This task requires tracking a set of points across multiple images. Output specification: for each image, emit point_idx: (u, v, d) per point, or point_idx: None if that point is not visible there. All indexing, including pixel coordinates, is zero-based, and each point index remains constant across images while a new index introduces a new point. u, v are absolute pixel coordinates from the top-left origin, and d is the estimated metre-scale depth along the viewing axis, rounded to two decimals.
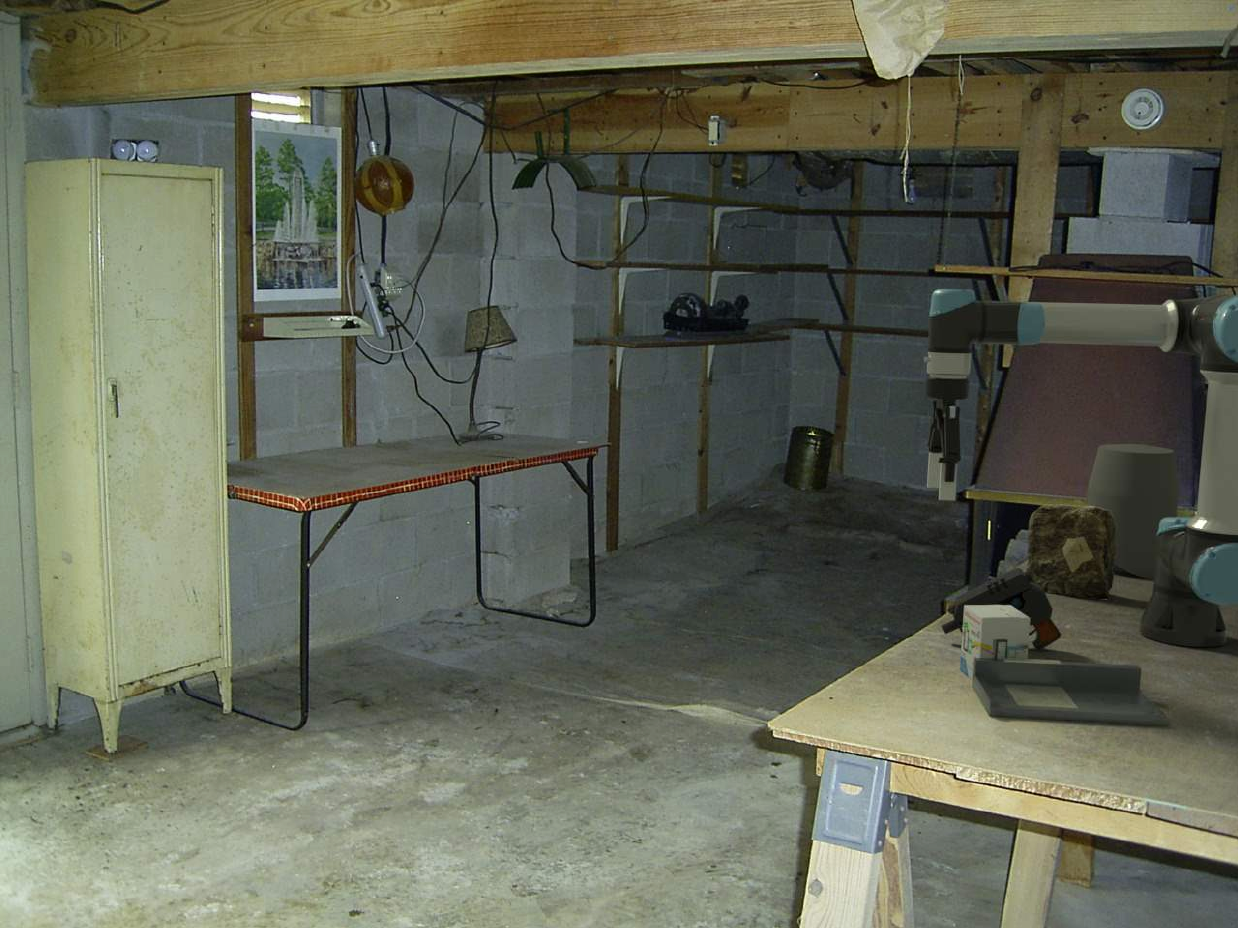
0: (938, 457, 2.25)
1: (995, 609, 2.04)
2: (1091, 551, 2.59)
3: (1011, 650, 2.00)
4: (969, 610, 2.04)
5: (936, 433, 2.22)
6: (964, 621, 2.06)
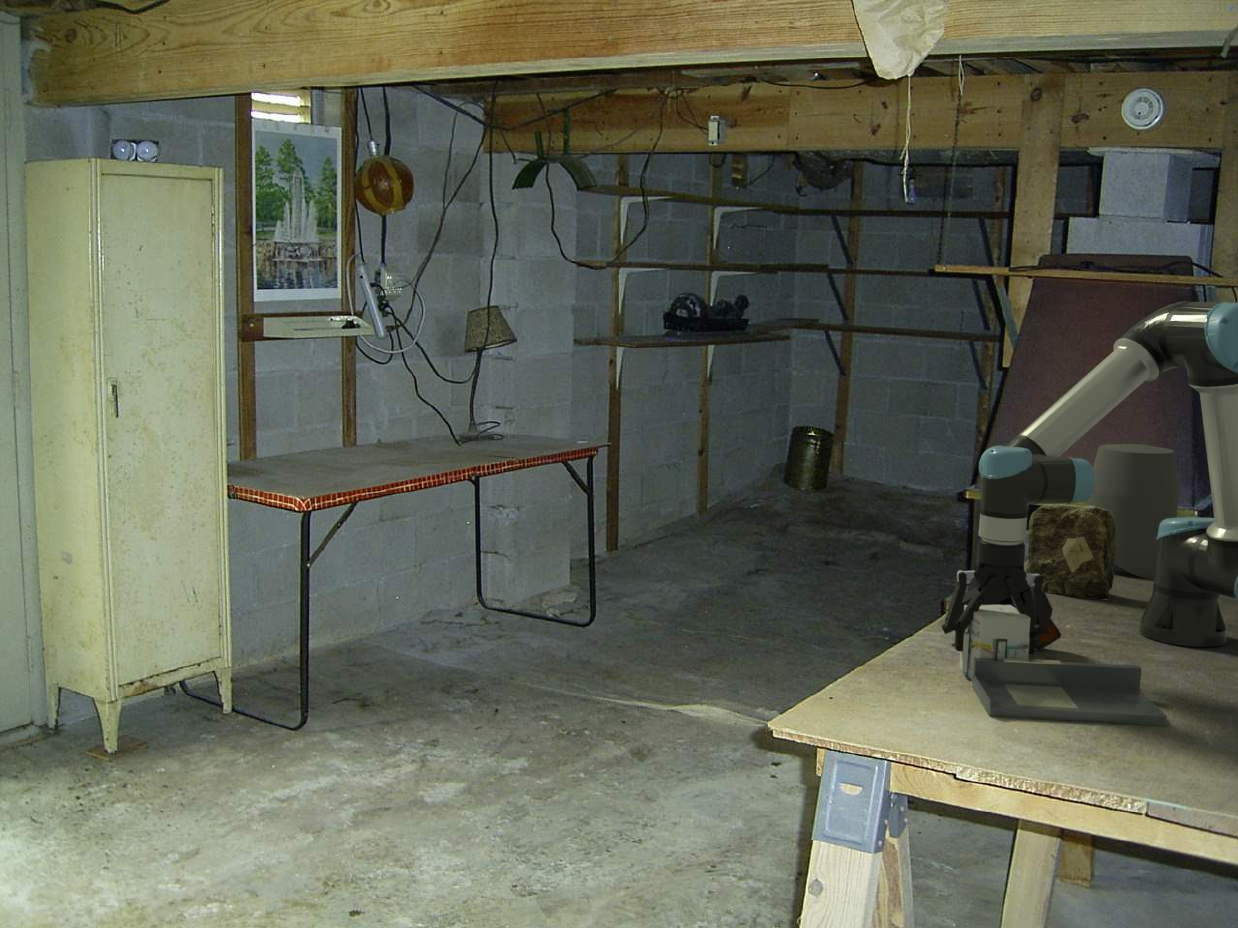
0: None
1: (995, 609, 2.04)
2: (1091, 551, 2.59)
3: (1011, 650, 2.00)
4: None
5: (1015, 606, 2.03)
6: None
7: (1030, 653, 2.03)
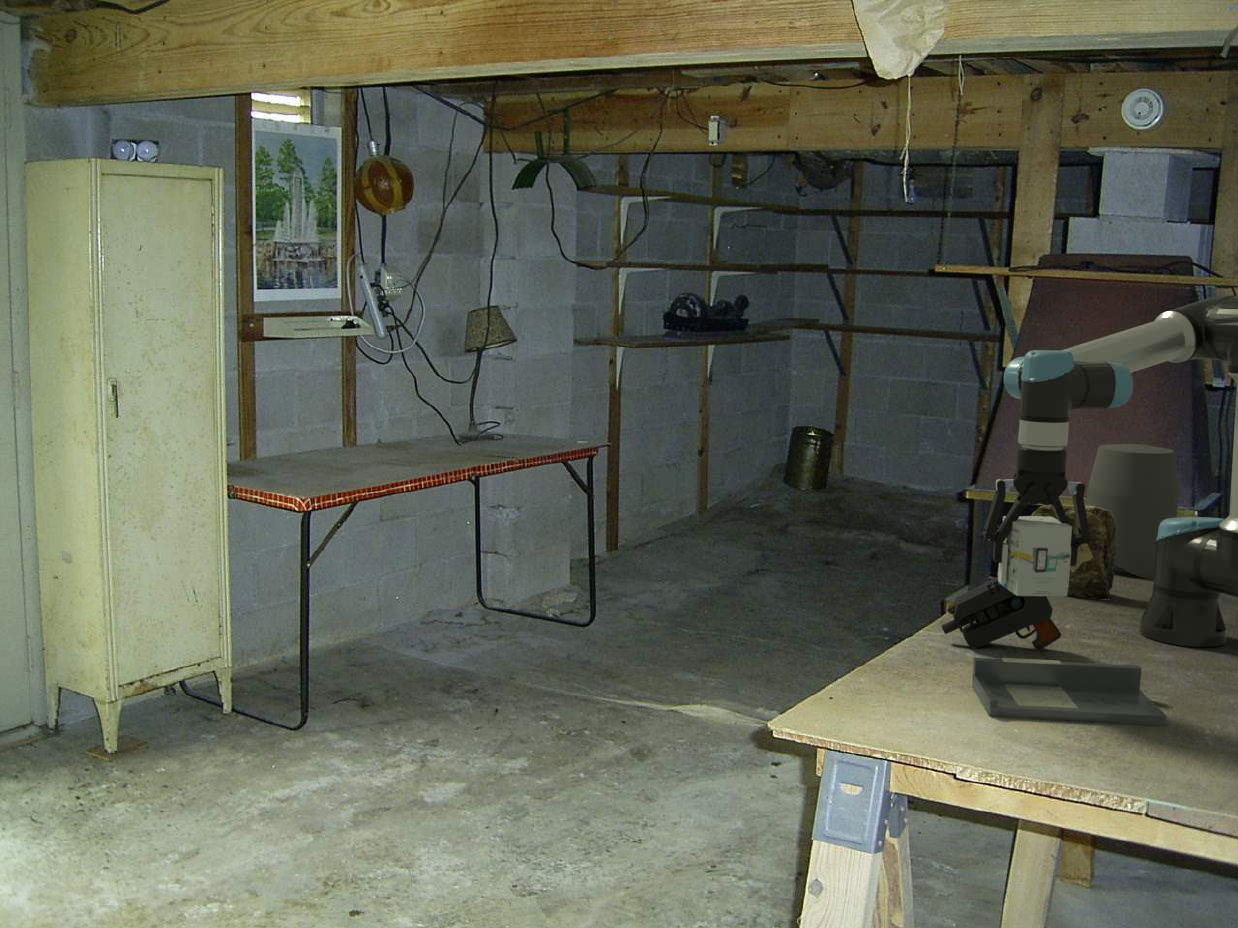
0: None
1: (1035, 519, 1.97)
2: (1091, 551, 2.59)
3: (1051, 559, 1.93)
4: None
5: (1056, 516, 1.97)
6: None
7: (1072, 564, 1.96)
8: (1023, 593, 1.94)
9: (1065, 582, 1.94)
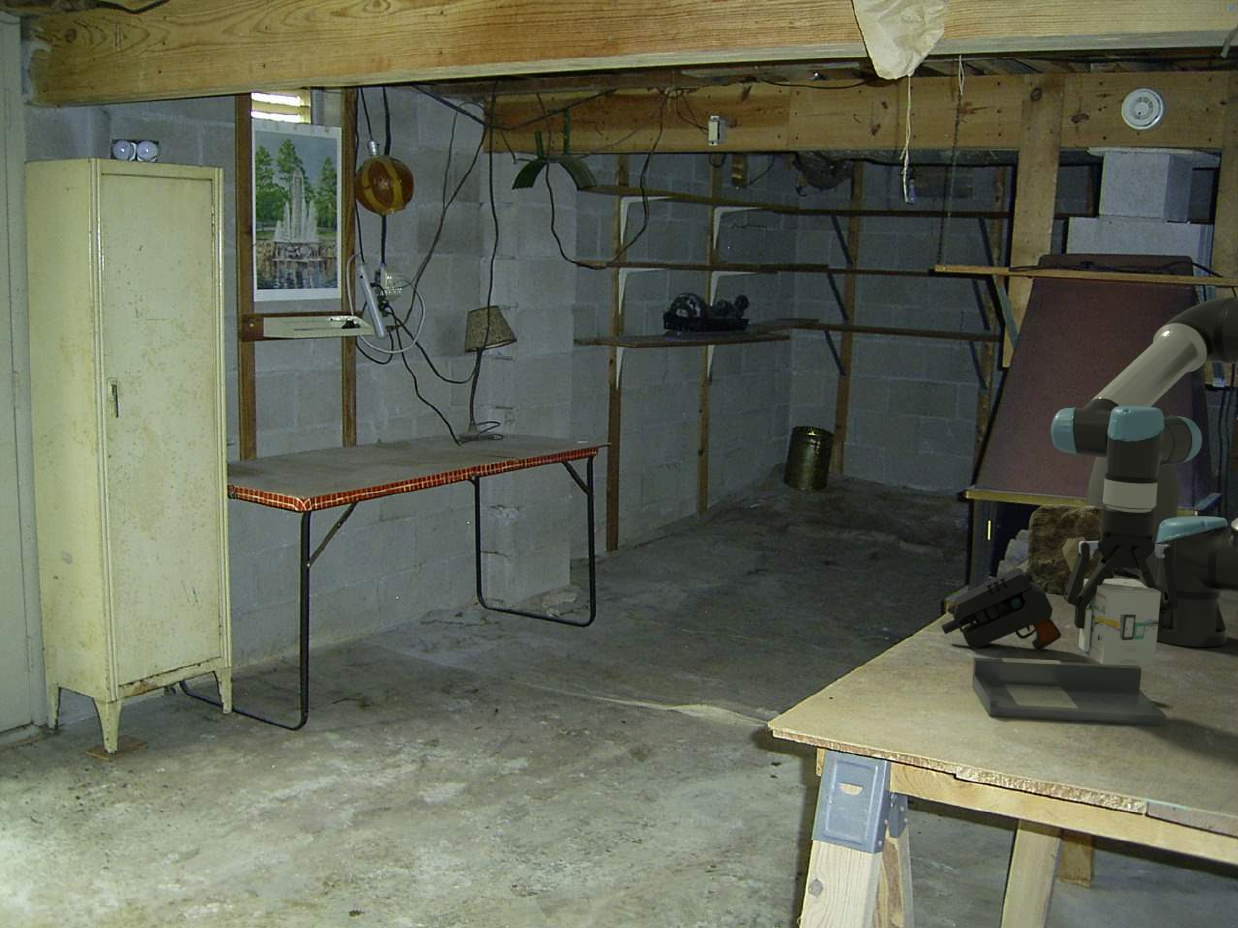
0: None
1: (1119, 583, 1.88)
2: None
3: (1139, 626, 1.84)
4: None
5: (1142, 580, 1.87)
6: None
7: (1158, 631, 1.87)
8: (1109, 662, 1.84)
9: (1153, 650, 1.84)
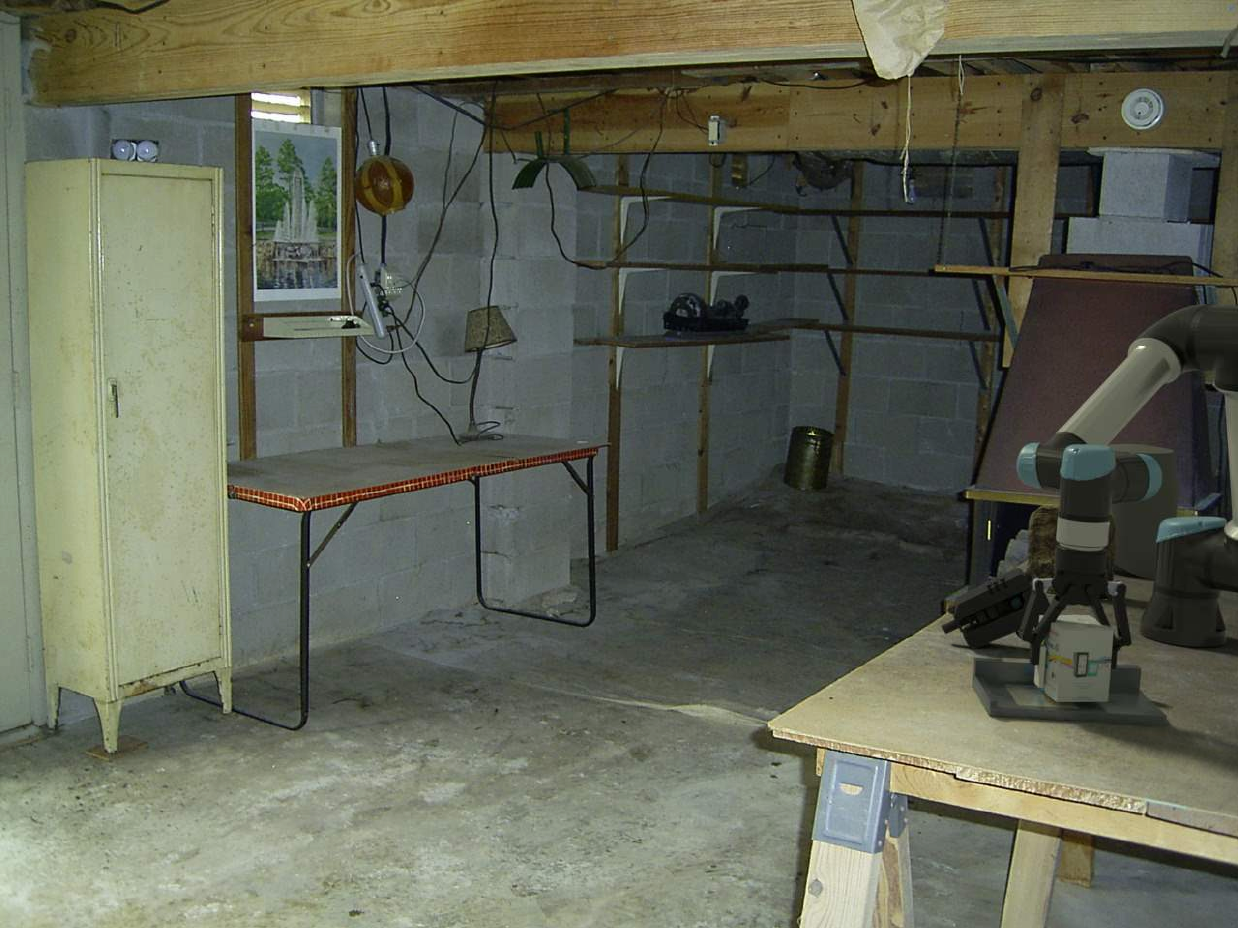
0: None
1: (1074, 619, 1.89)
2: None
3: (1092, 664, 1.85)
4: None
5: (1095, 617, 1.89)
6: None
7: (1111, 667, 1.88)
8: (1063, 699, 1.86)
9: (1106, 687, 1.86)
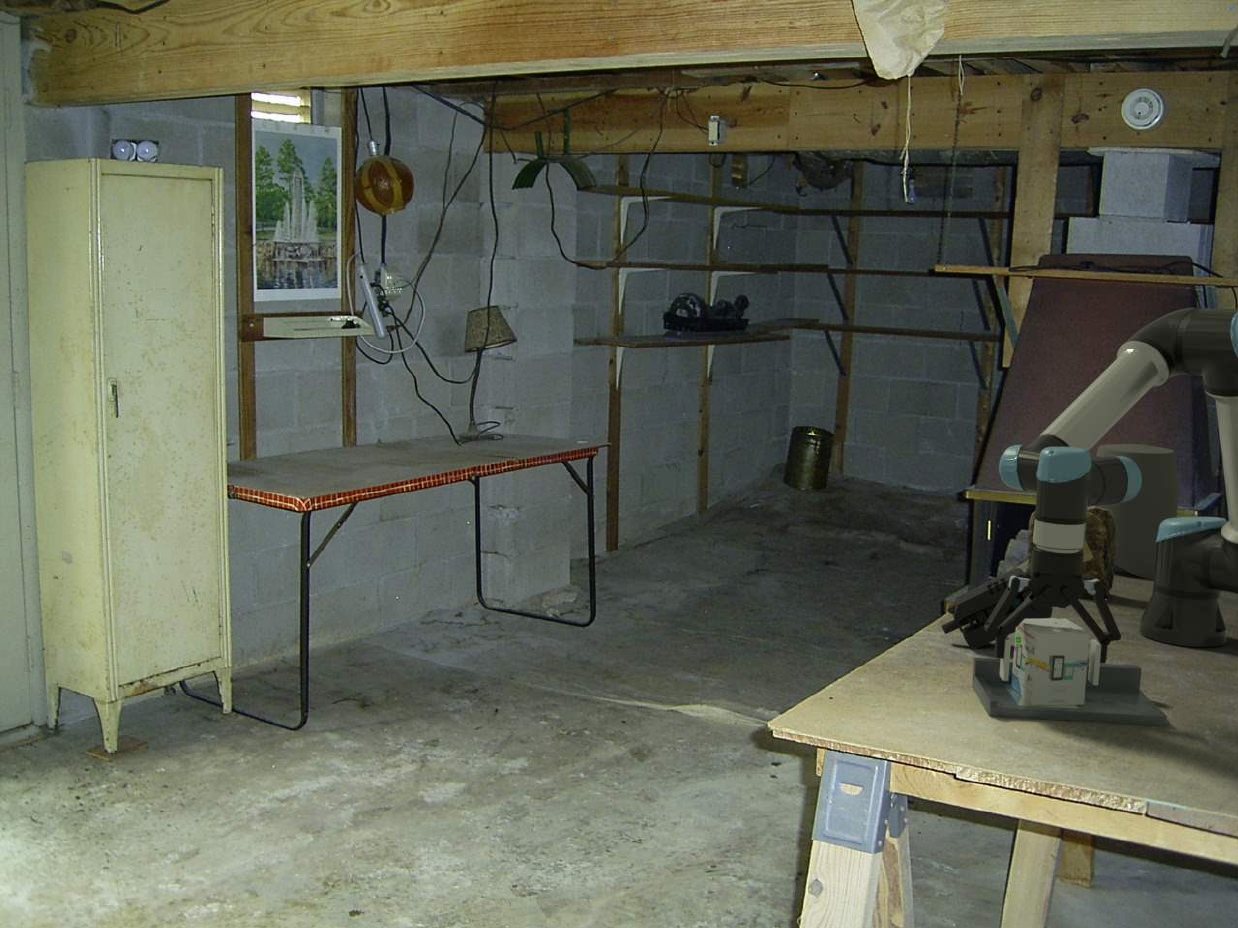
0: (1093, 647, 1.89)
1: (1050, 623, 1.90)
2: (1091, 551, 2.59)
3: (1068, 667, 1.86)
4: (1022, 624, 1.90)
5: None
6: (1016, 635, 1.92)
7: (1101, 661, 1.88)
8: (1039, 702, 1.86)
9: (1082, 690, 1.86)
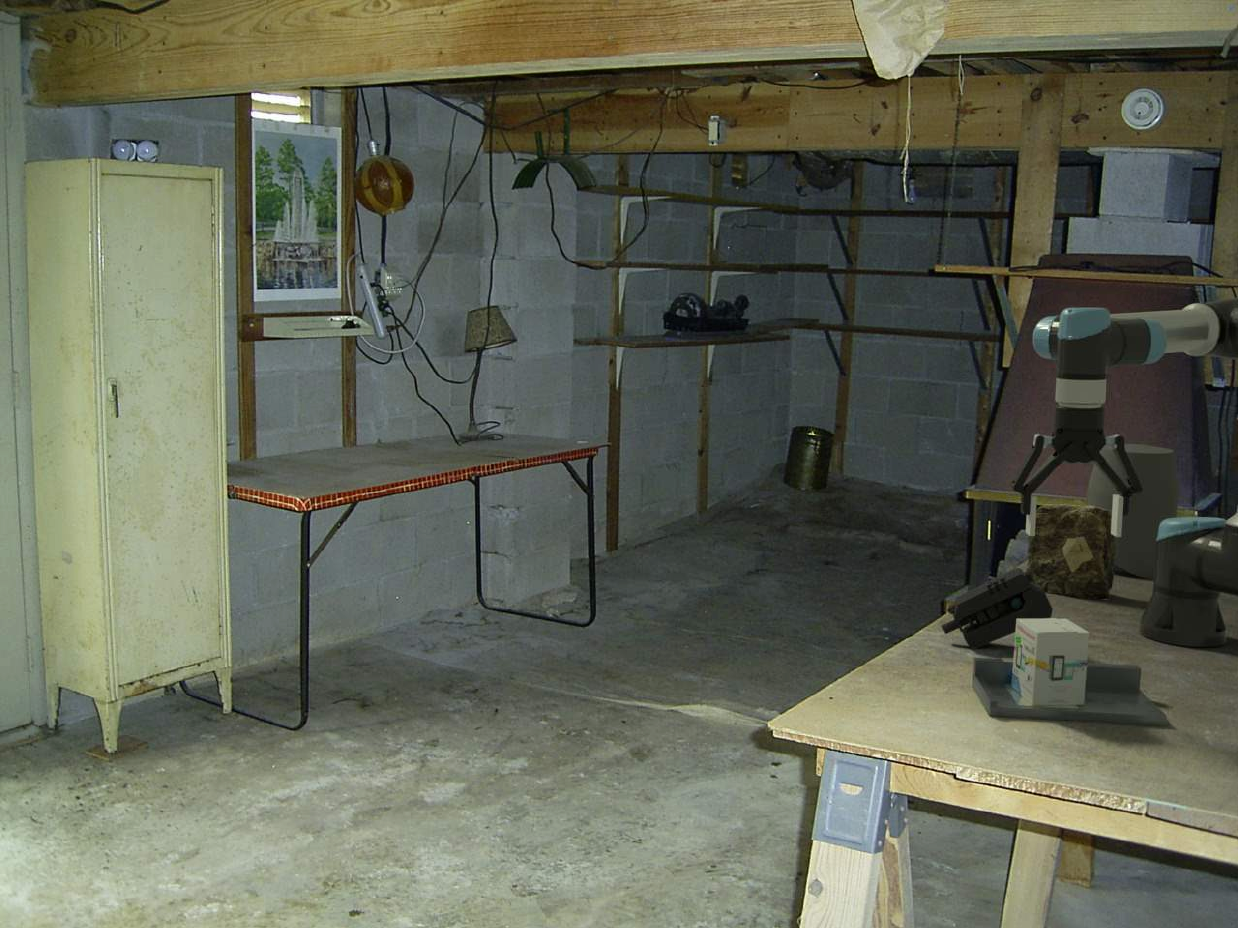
0: (1116, 500, 1.96)
1: (1050, 623, 1.90)
2: (1091, 551, 2.59)
3: (1068, 667, 1.86)
4: (1022, 624, 1.90)
5: None
6: (1016, 635, 1.92)
7: (1124, 514, 1.96)
8: (1039, 702, 1.86)
9: (1082, 690, 1.86)
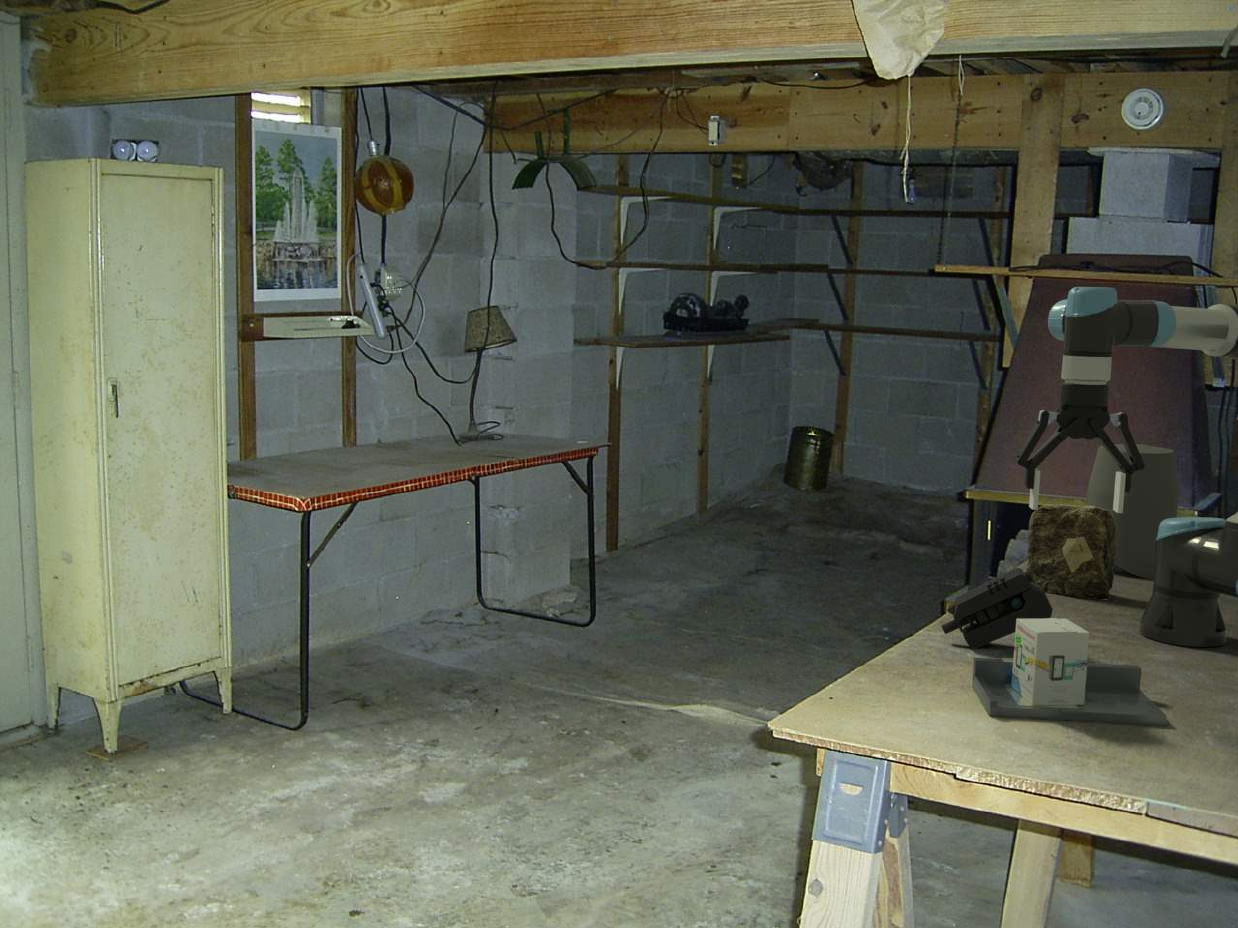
0: (1118, 477, 2.00)
1: (1050, 623, 1.90)
2: (1091, 551, 2.59)
3: (1068, 667, 1.86)
4: (1022, 624, 1.90)
5: (1105, 448, 2.00)
6: (1016, 635, 1.92)
7: (1126, 491, 2.00)
8: (1039, 702, 1.86)
9: (1082, 690, 1.86)
